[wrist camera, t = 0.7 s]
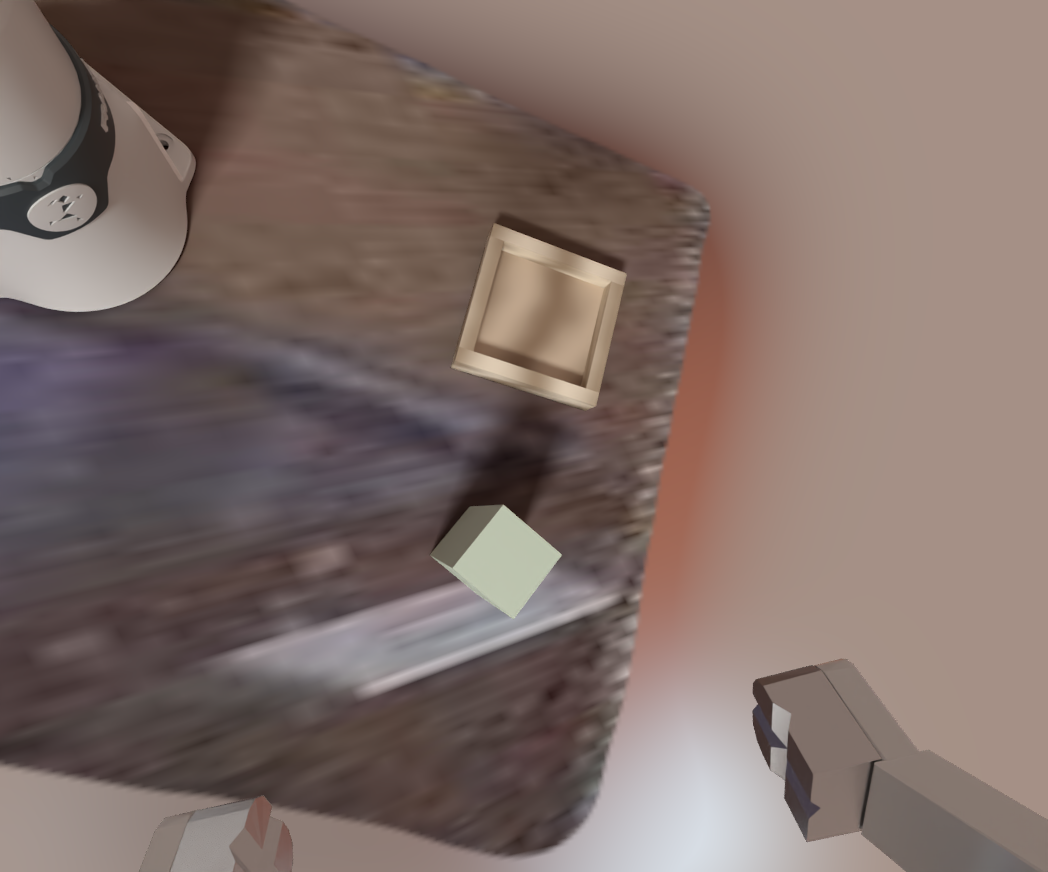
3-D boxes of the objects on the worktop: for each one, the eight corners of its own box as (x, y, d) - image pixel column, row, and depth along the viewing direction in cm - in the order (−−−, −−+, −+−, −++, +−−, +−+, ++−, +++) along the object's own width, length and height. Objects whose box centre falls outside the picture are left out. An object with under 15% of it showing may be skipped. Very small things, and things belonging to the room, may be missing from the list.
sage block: (429, 554, 48) (452, 568, 36) (469, 506, 49) (503, 504, 38) (476, 593, 49) (513, 619, 37) (514, 544, 50) (561, 554, 38)
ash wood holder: (450, 367, 50) (455, 360, 48) (487, 236, 53) (494, 223, 50) (585, 410, 53) (595, 406, 51) (615, 284, 55) (626, 273, 53)
